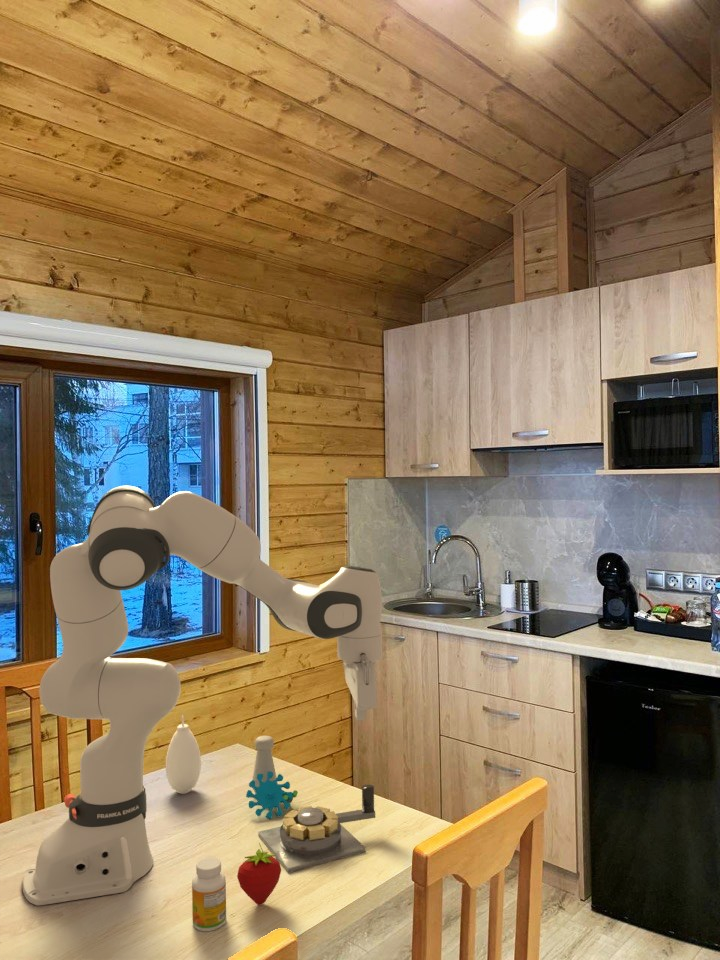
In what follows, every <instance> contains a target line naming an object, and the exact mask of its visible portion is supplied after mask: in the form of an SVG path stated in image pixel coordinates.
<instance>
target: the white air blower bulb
mask: <svg viewBox="0 0 720 960" xmlns="http://www.w3.org/2000/svg"><path fill="white" fill-rule="evenodd" d="M184 717H185V716H184V714H182V715H181V724H178V726H176V731H175V732H174V733H173V735H172V738H171V740H170V742H169V745H168V748H167V753H166V758H165V773H166V779H167V781H168V782H167V783H168V784H169V786H170V787H171V789H172V790H174V791H175V792H176V793H179V794H181V795H185V794H188V793H189V792H191V791H192V789H194V787H196V785H197V783H198V781H199V778H200V775H201V769H202V760H201V757H202V756H201V752H200V747H199V745H198V742H197V738H196V737H195V736H194V735H195V734H193V732H192V730H191V729H190V726H189V725H188V724H186V723H185V719H184Z"/></svg>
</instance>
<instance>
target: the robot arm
mask: <svg viewBox="0 0 720 960" xmlns="http://www.w3.org/2000/svg"><path fill="white" fill-rule="evenodd" d="M86 530H87V533H88V537H87V538H86V539H85V541H83V542H81V543H77V544H73V545H70V546H67V547H65V548H63V549H62V550H60V551H59V552H58V553H56V555H55V556H54V557H53V559H52V560H51V564H50V566H49V580H50V589H51V590H50V591H51V597H52V603H53V608H54V612H55V614H56V618H57V622H58V626H59V629H60V634H61V640H62V652H61V655H60V657H59V658H58V659H57V660H56V661H54V662H53V663H52V664H51V665H50V666H49V667H48V668H46V670H45V672H44V673H43V676H42V677H41V680H40V682H39V683H40V684H39V688H38V689H39V690H38V692H39V699H40V702H41V704H42V706H43V708H44V710H45V711H46V712H47V713H48V714H51V715H55V716H57V717H58V716H59V717H63V718H68V719H73V720H108V721H109V732H107V733H106V734H103V735H102V736H100V737H98V738H96V739H95V740H93V741H91V742H90V743H89V744H88V745H87V746H86V747H85V748H84V750H83V752H82V753H81V756H80V759H79V767H80V768H79V770H80V771H79V772H80V773H79V774H80V775H79V777H80V794H79V795H77V796H76V795H74V793H67V795H65V797H64V799H63V802H64V806H65V807H66V808H68V818H67V819H66V820H65V821H64V822H62V823H61V824H60V825H59V826H58V827H57V828H56V829H55V830H53V831H52V832H51V833H50V834H49V835H48V836H46V837H45V838H44V839H43V841H42V842H41V844H40V846H39V849H38V853H37V856H36V860H35V861H36V862H35V863H32V864H31V865H29V867H28V868H27V869H26V871H25V872H24V874H23V877H22V891H23V895H24V897H25V899H26V900H27V901H28V902H29V903H30V904H32V905H34V906H44V905H52V904H57V903H64V902H65V903H66V902H70V901H76V900H82V899H88V898H95V897H102V896H108V895H114V894H119V893H120V894H121V893H125V892H126V891H128V890H129V889H130V888H131V887H132V885H133V884H134V882H136V881H137V880H139V879H140V878H141V877H144V876H145V875H146V874H147V873H148V872H149V871H150V870H151V869H152V867H153V864H154V858H153V855H152V852H151V849H150V844H149V840H148V835H147V829H146V819H147V817H146V816H147V810H148V809H147V792H146V788H145V786H144V761H145V760H144V759H145V749H146V744H147V742H148V740H149V737H150V734H151V733H152V731H153V729H154V728H155V727H156V726H157V724H158V723H159V722H160V721H161V720H162V719H164V718H165V717H166V716H167V715H169V714H170V713H171V712H172V711H173V709H175V707H176V705H177V703H178V702H179V699H180V695H181V690H182V689H181V688H182V685H181V678H180V676H179V675H180V674H179V673H178V671H177V669H176V668H175V666H174V665H173V664H172V663H170V662H165V661H162V660H158V659H153V658H145V657H143V658H140V657H134V658H133V657H128V658H127V657H111V656H112V655H113V654H115V653H116V652H118V650H119V649H120V648H121V647H122V646H123V645H124V643H125V642H126V640H127V638H128V635H129V629H130V627H129V622H128V617H127V614H126V609H125V605H124V600H123V596H122V592H121V591H127V590H131V589H135V588H137V587H139V586H141V585H143V584H144V583H145V582H147V581H148V580H149V579H150V578H151V577H152V576H153V575H154V574H155V573H156V572H158V571H160V570H162V569H163V568H165V567H166V566H167V564H169V561H170V555H171V556H176V557H178V558H179V557H180V558H181V559H183V560H185V561H186V562H188V563H189V564H190V565H192V566H193V567H195V568H197V569H198V570H199V571H201V572H203V573H205V574H206V575H209V576H211V577H212V578H215V579H217V580H219V581H222V582H224V583H227V584H229V585H230V584H235V585H237V586H239V587H240V588H242V589H244V590H245V591H246V592H248V593H249V594H251V595H252V596H254V597H255V598H256V599H258V600H259V601H261V602H262V603H263V604H264V605H265V606H266V607H267V608H268V610H269V612H270V613H271V615H272V616H273V618H274V619H275V621H276V622H277V624H279V626H280V627H282V628H283V629H286V630H287V631H293V632H298V633H300V634H304V635H307V636H310V637H312V638H313V637H314V638H317V639H321V640H330V639H335V638H336V640H337V642H336V644H337V646H336V647H337V658H338V660H341V661H342V664H343V672H344V673H343V674H344V678H345V682H346V685H347V687H348V690H349V692H350V694H351V696H352V698H353V704H354V716H355V719H356V720H357V721H358V722H365V721H366V719H367V710H374V709H376V708H377V704H378V703H377V702H378V698H377V674H376V669H375V667H376V666H377V661H378V660H381V659H382V658H383V629H382V626H381V617H382V612H383V595H382V587H381V580H380V577H379V574H378V573H377V571H375V570H373V569H371V568H366V567H360V566H353V565H344V566H341V567H340V569H339V571H337V573H336V574H335V575H333V576H332V577H331V578H330V579H328V580H326V581H325V582H323V583H321V584H315V583H314V584H313V583H310V582H307V581H304V580H302V579H301V580H300V579H295V578H294V579H293V578H287V577H284V576H283V575H282V574H280V573H279V572H278V571H277V570H275V569H274V568H272V566H269V565H268V564H267V563H266V562H265V561H263V560H261V559H260V557H261V552H262V551H261V541H260V538H259V536H258V535H257V534H256V533H255V532H254V530H252V528H251V527H250V526H248V524H247V523H245V522H244V521H243V520H241V519H240V518H238V517H237V516H236V515H234V514H233V513H231V512H230V511H228V510H227V509H225V508H224V507H222V506H220V505H219V504H217V503H215V502H213V501H211V500H210V499H207V498H205V497H204V496H201V495H200V494H196V493H195V492H191V491H187V490H185V491H184V490H183V491H177V492H175V493H173V494H172V495H170V496H169V497H167V498H166V499H165V500H164V501H163V502H162V503H161V504H160V505H158V506H156V504H155V502H154V500H153V499H152V498H151V496H150V495H149V494H148V493H147V492H146V491H144V490H143V489H141V488H139V487H136V486H132V485H120V486H117V487H114V488H112V489H110V490H108V491H106V493H105V494H103V495H102V497H101V498H100V500H99V501H98V503H97V504H96V506H95V508H94V511H93V513H92V516H91V519H90V521H89V523H88V526H87V529H86Z"/></svg>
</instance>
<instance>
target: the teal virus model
mask: <svg viewBox="0 0 720 960" xmlns="http://www.w3.org/2000/svg"><path fill="white" fill-rule="evenodd" d="M272 777H273V772H270V771H268V773H267V780H266V782H262V778H263V774H258V775H257V779H258V781H259V784H260V785H259V787H256V786H255V781H254V780H251V781H250V782H248V787H250V788H252V789H254V790H255V791H256V794H255V793H253V791H254V790H253V791H252V790H251V789H248V790H247V791H246V794H245V796H246V798H249V799H250V798H251V799H252V798H253V799H255V800H257V801H256V802H255V801H253V800H249V801H248V808H249V809H252V808H254V807H257V806H261V808H256V809H255V811H254V813H255V815H256V816H257V817H261V815H262V813H263V811H265V810H267V809H268V810H269V811H268V812H266V814H265V818H266V819H268V820H271V819H272V818H273V810H274V808H277V811H276V814H275V815H276V817H281V816H283V814H284V811H283V810H282V809H281V803H283V808H284V810H286V811H287V810H288V809H289V808H290V807H291V803H292V802H293V800H294V798H297V796H298V794H299V793H298V790H293V791H285V790H283V789H282V788H284V789H286V790H289V789H290V788H291V784H290V782H289V781H286V782H284V783H282V784H280V783H278V784H277V782H282V781H283V780H284V776H283V775H282V774H281V773H279V774H277V776H276V777H277V778H276V779H275V780H274V781H270V780H269V779H270V778H272Z"/></svg>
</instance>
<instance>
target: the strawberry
mask: <svg viewBox="0 0 720 960" xmlns="http://www.w3.org/2000/svg"><path fill="white" fill-rule="evenodd" d="M258 845H259V847H260V848H258V849H257V851H256V852H255V854H254V855H249V856H244V859H246V860H245V861H243V862H242V863H241V864H240V866H239V867H238V870H237V875H236V877H237V881H238V883H239V886H240V888H241V890H243V892H244V893H245V894H246V895H247V897H249V899H250V900H252V901H253V902H254V903H255V904H256V905H257V906H261V905H262V906H263V904H265V903H266V901H267V899H268V898H269V897H270V896H271V895H272V893H273V892H274V890H275V888H276V886H277V884H278V883H279V881H280V877H281V874H282V873H281V872H282V867H281V863H280V862H279V861H278V859H277V858H276V857H275V856H276V855H274V854H269V851H265V852H264V850H263V848H262V846H261V844H260V842H259V843H258ZM260 849H261V850H260Z"/></svg>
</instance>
